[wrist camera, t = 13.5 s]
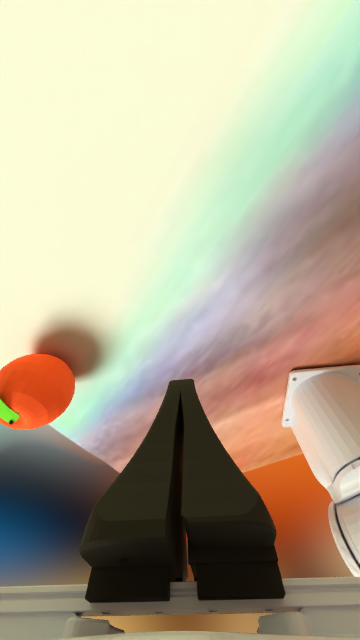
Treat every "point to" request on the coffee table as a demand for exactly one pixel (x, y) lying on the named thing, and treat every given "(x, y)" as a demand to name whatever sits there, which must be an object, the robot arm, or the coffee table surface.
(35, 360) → the clementine
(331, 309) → the coffee table surface
